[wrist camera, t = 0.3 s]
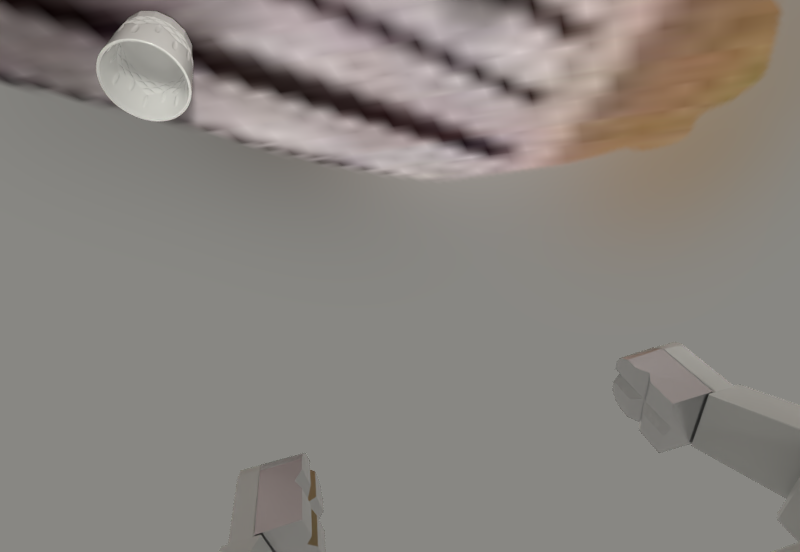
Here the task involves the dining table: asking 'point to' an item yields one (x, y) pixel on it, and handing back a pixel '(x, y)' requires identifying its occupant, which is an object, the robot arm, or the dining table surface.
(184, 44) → the white cup
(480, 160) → the dining table surface
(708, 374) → the robot arm
